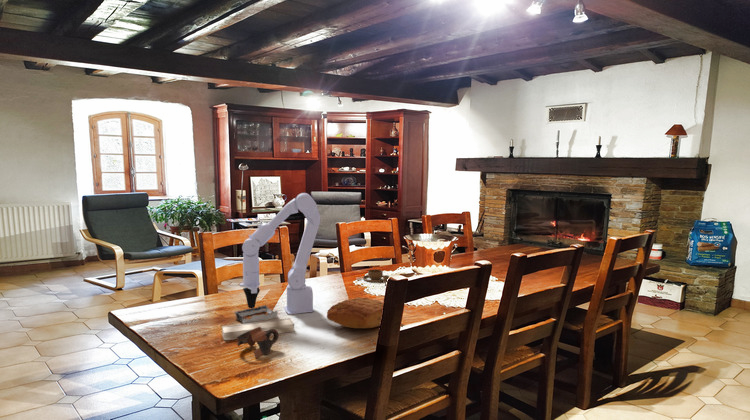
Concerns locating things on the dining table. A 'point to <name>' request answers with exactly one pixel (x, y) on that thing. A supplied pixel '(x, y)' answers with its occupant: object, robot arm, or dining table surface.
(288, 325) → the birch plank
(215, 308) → the dining table surface
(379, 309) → the bread loaf
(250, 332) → the brown looped piece
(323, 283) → the dining table surface
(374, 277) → the place setting
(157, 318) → the dining table surface
